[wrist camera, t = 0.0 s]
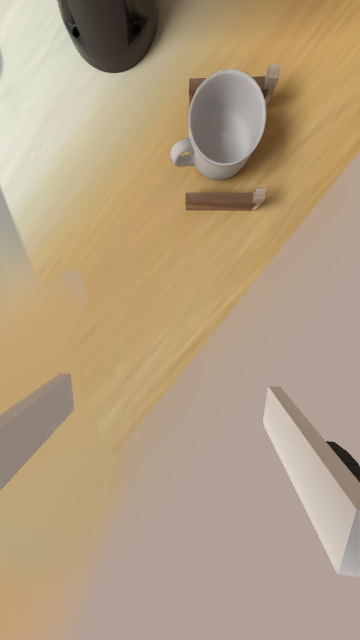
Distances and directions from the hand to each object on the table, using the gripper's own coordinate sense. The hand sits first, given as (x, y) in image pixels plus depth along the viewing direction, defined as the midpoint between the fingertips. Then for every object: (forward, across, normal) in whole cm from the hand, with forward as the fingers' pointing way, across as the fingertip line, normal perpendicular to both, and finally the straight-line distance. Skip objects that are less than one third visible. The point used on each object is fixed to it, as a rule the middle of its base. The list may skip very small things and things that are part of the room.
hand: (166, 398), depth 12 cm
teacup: (+28, +4, +29) cm, 41 cm away
